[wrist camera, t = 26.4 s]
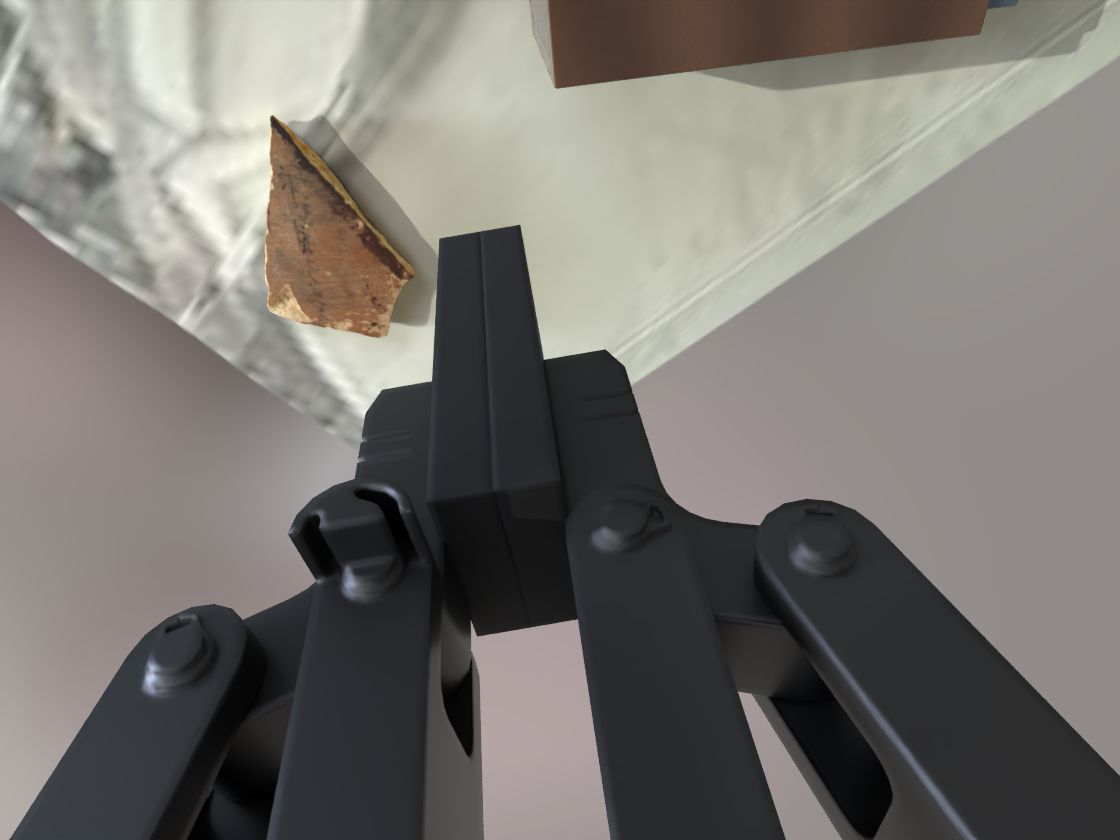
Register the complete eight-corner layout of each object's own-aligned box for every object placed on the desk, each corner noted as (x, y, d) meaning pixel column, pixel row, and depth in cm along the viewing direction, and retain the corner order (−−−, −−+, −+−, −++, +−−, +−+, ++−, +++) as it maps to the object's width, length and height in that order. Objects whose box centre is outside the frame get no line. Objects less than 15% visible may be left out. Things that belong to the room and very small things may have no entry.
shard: (276, 105, 32) (268, 117, 31) (437, 148, 34) (436, 160, 33) (267, 301, 39) (260, 318, 37) (403, 327, 41) (401, 344, 39)
